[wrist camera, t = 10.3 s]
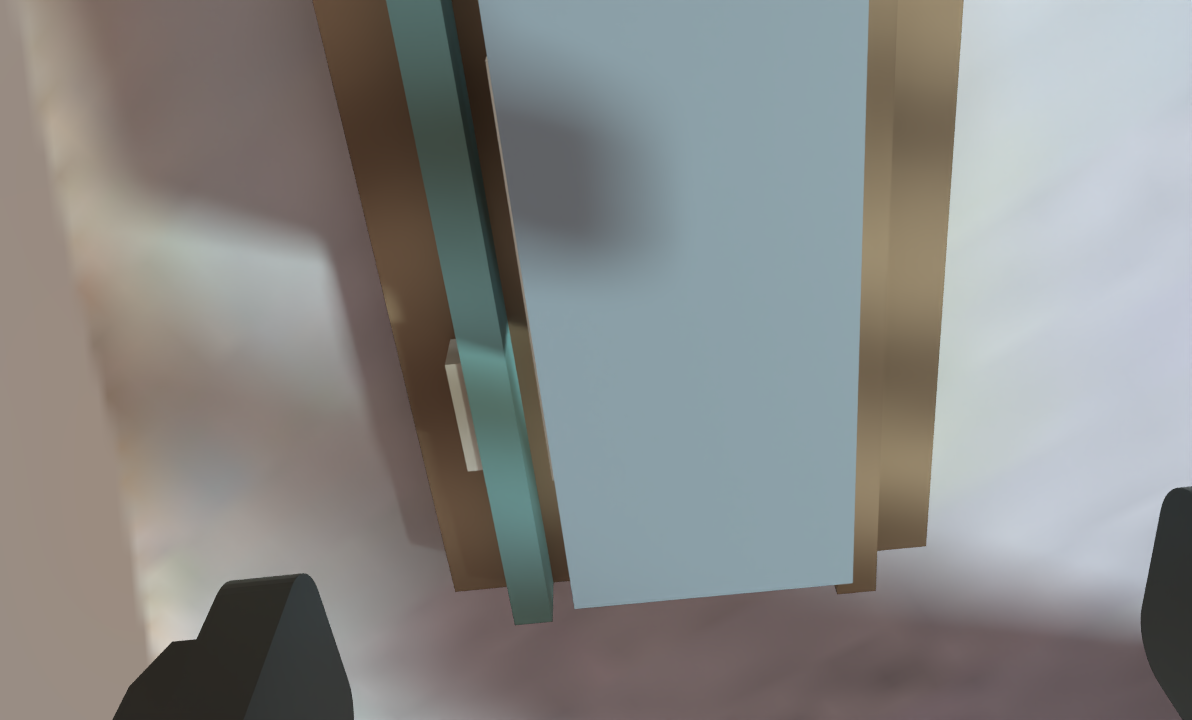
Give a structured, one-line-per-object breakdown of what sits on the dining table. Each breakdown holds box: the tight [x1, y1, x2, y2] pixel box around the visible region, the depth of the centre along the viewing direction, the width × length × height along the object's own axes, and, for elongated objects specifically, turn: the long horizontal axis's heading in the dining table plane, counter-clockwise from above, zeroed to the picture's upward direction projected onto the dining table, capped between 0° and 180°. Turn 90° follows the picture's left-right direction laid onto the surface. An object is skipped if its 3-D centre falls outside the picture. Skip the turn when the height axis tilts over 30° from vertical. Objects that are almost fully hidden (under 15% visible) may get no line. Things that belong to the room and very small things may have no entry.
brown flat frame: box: [312, 0, 964, 625], centre depth 22 cm, size 25×13×3 cm, turn 6°
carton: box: [478, 0, 869, 609], centre depth 18 cm, size 5×10×9 cm, turn 6°
